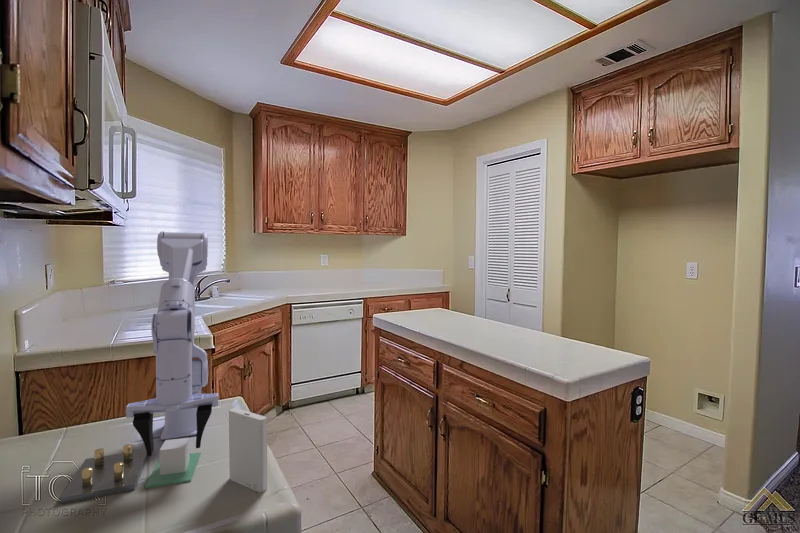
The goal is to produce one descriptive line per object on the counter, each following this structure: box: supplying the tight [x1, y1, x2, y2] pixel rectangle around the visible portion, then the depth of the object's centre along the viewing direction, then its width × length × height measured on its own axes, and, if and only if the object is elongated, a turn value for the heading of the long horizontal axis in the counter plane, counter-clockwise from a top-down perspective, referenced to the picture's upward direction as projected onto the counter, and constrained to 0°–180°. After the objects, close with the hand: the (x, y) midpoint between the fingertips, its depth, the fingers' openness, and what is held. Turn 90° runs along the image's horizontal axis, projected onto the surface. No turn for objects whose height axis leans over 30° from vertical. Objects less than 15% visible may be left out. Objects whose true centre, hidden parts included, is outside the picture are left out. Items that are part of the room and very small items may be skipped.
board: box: [144, 437, 202, 489], centre depth 74 cm, size 10×7×5 cm
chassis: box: [59, 443, 148, 505], centre depth 72 cm, size 13×10×4 cm
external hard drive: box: [228, 407, 268, 493], centre depth 70 cm, size 2×8×12 cm, turn 60°
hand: (174, 449), depth 74 cm, fingers open, 7 cm apart
